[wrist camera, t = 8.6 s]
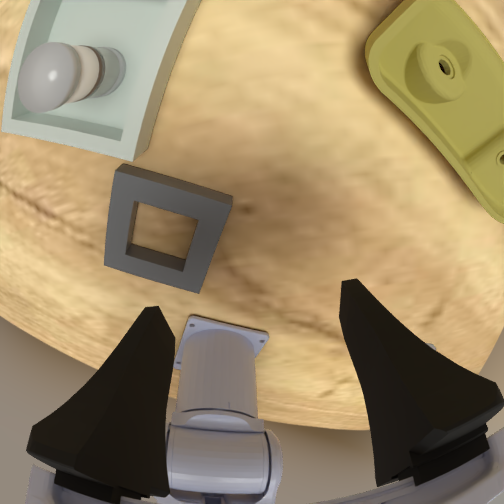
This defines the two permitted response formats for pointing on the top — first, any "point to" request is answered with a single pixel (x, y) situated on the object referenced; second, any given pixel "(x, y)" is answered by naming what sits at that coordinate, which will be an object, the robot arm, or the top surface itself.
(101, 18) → the parts tray
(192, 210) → the gray square frame
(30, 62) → the cylinder
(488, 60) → the plastic component
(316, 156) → the top surface
